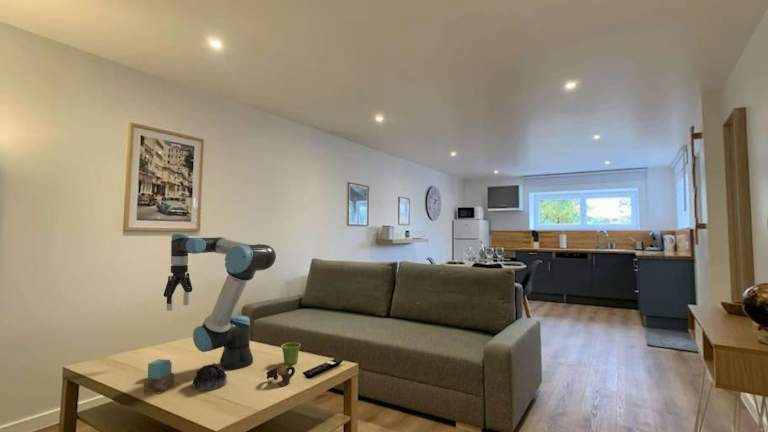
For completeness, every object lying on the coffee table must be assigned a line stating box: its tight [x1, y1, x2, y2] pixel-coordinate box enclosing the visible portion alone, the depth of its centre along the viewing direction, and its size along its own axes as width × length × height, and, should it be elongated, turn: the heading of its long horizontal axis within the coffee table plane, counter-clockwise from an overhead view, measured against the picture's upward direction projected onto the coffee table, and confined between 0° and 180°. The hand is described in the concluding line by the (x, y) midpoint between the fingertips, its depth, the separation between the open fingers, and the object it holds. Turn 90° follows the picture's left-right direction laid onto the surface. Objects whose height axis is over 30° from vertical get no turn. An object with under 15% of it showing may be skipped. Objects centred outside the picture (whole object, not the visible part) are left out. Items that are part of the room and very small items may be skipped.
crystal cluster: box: [192, 362, 228, 392], centre depth 160 cm, size 14×14×10 cm
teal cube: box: [147, 359, 171, 380], centre depth 157 cm, size 6×6×6 cm
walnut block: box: [143, 372, 175, 394], centre depth 156 cm, size 8×8×5 cm
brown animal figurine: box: [266, 364, 296, 388], centre depth 163 cm, size 12×10×8 cm
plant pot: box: [280, 342, 302, 366], centre depth 187 cm, size 9×9×9 cm
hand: (178, 307), depth 188 cm, fingers open, 13 cm apart
